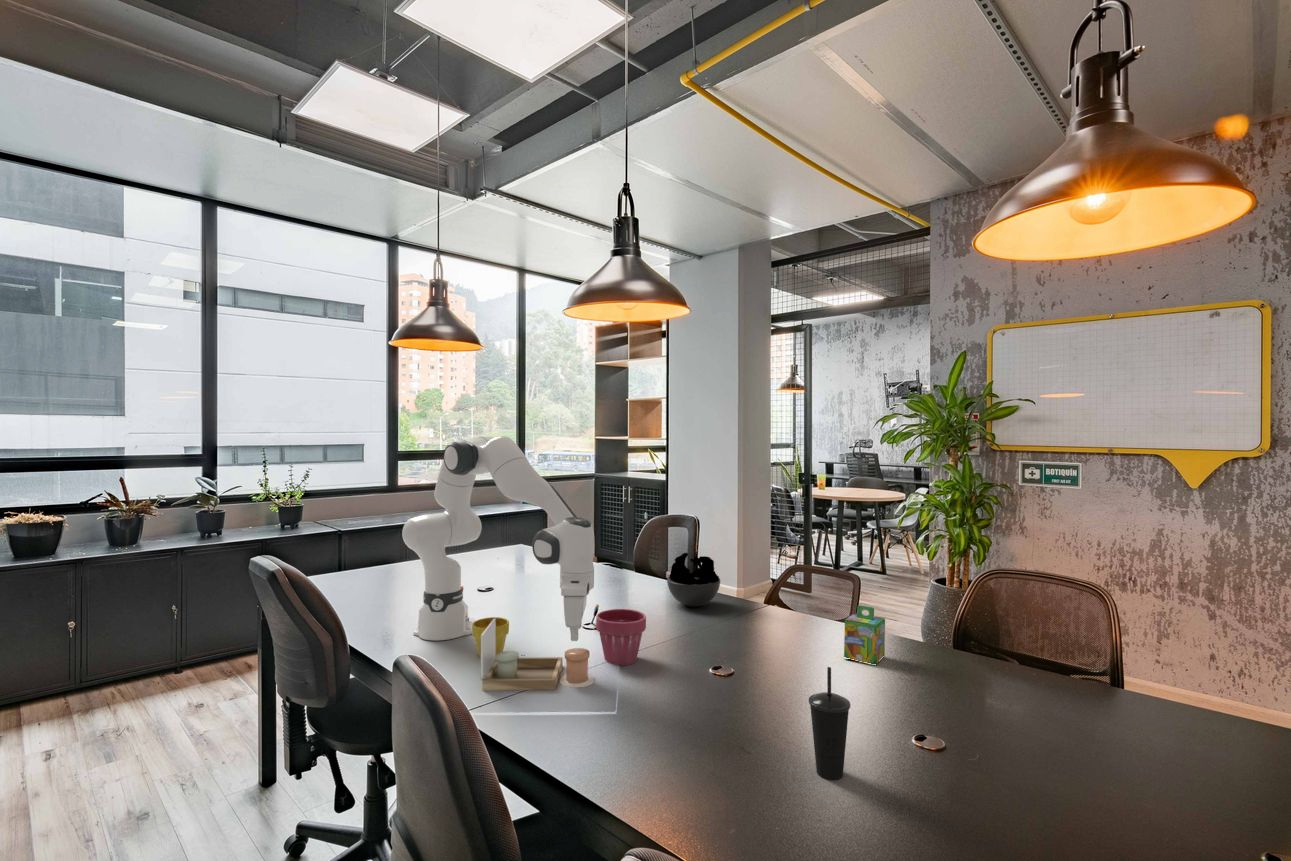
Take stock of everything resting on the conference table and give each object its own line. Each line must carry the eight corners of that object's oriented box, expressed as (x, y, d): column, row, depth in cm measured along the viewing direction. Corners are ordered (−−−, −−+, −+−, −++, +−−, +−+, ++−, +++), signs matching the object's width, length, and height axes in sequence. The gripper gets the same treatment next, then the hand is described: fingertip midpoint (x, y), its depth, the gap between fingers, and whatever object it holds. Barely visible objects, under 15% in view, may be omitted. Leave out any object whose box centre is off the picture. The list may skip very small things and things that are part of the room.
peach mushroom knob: (566, 674, 164) (566, 648, 164) (590, 674, 164) (590, 647, 164) (563, 684, 158) (563, 656, 158) (588, 684, 158) (588, 656, 158)
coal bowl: (723, 613, 224) (723, 561, 224) (667, 613, 224) (667, 560, 224) (717, 598, 244) (717, 550, 244) (666, 598, 244) (666, 550, 244)
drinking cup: (803, 763, 121) (802, 660, 122) (841, 761, 122) (840, 659, 122) (817, 785, 114) (816, 676, 114) (857, 783, 114) (857, 674, 115)
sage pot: (498, 673, 166) (498, 650, 166) (520, 673, 166) (520, 650, 166) (493, 682, 160) (493, 658, 160) (516, 682, 160) (516, 658, 160)
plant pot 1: (499, 663, 175) (499, 628, 175) (465, 660, 177) (465, 626, 177) (514, 651, 185) (514, 618, 185) (482, 648, 187) (482, 616, 187)
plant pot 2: (653, 655, 181) (653, 611, 181) (632, 672, 168) (632, 625, 168) (610, 648, 187) (610, 606, 187) (586, 664, 174) (586, 618, 174)
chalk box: (843, 659, 177) (843, 608, 177) (853, 650, 185) (853, 601, 185) (876, 667, 172) (876, 613, 172) (885, 657, 179) (885, 606, 179)
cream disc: (561, 675, 166) (561, 672, 166) (595, 675, 166) (595, 672, 166) (557, 689, 157) (557, 686, 157) (593, 689, 157) (593, 686, 157)
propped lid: (493, 660, 170) (493, 618, 170) (496, 660, 170) (496, 618, 170) (480, 680, 156) (480, 635, 156) (484, 680, 156) (484, 635, 156)
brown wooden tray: (496, 668, 171) (496, 657, 171) (562, 668, 171) (562, 657, 171) (482, 692, 155) (482, 680, 155) (554, 692, 155) (554, 680, 155)
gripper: (569, 571, 172) (568, 621, 172) (560, 590, 151) (559, 647, 151) (592, 571, 172) (591, 621, 172) (586, 591, 151) (585, 647, 151)
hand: (576, 633), depth 161 cm, fingers open, 8 cm apart
